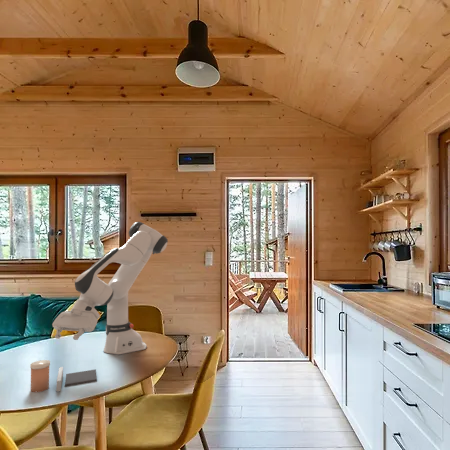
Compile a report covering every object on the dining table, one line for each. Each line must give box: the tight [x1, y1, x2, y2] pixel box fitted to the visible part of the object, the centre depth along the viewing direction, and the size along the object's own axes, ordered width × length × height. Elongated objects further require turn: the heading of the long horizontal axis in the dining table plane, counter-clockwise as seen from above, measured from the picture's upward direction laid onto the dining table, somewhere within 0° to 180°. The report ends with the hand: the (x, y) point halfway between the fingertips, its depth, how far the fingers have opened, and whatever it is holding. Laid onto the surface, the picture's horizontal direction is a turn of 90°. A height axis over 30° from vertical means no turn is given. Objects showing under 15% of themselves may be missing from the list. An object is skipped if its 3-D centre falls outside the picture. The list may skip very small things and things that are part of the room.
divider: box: [55, 366, 64, 392], centre depth 134 cm, size 2×16×4 cm, turn 23°
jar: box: [30, 359, 51, 393], centre depth 130 cm, size 7×7×10 cm
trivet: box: [64, 369, 98, 387], centre depth 139 cm, size 12×12×1 cm
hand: (65, 338), depth 142 cm, fingers open, 8 cm apart
